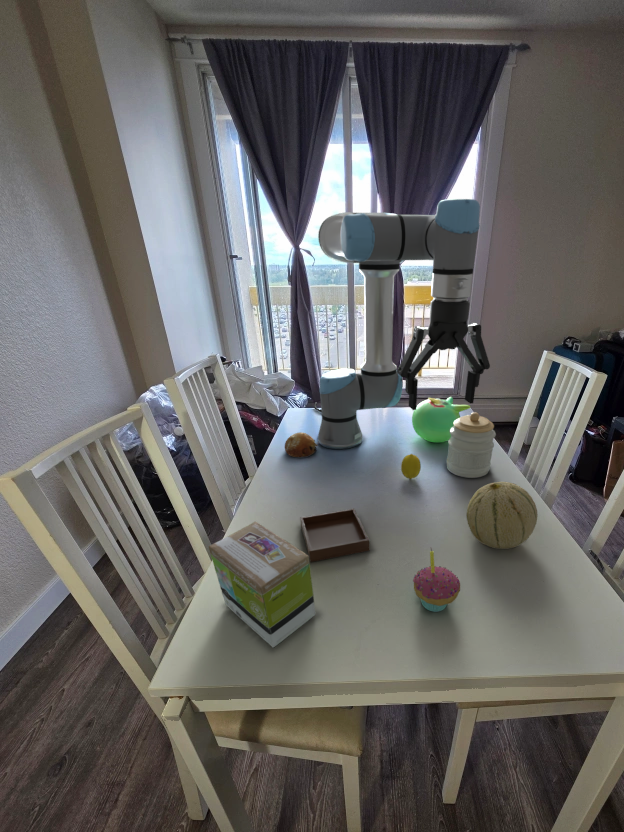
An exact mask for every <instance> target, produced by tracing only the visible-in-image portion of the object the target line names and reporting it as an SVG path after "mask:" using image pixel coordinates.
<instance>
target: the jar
mask: <svg viewBox="0 0 624 832" xmlns="http://www.w3.org/2000/svg"><path fill="white" fill-rule="evenodd" d="M453 424H454V426H453V427H452V428H451V429H450V434H451V438H450V439H449V440H448V451H447V458H446V469H447V470H448V471H449V472H450V473H451V474H453V475H454V476H458V477H462V478H469V479H476V478H482V477H484V476H486V475H487V474H488V473H489V471H490V469H491V466H492V455H493V449H494V447H495V444H494V443H495V442H494V439H495V438H496V436H497V433H496V430H494V428H495V424H494V423H493V422H492V421H490V420H489V419H488V418H487V417H485V416H482V415H480V414H479V413H478V412H476V411H473V412H471V413H470V414H467V415H462V416H460V418H459V419H457V420H455V421H454V423H453Z"/></svg>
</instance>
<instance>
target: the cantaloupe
mask: <svg viewBox="0 0 624 832" xmlns="http://www.w3.org/2000/svg"><path fill="white" fill-rule="evenodd" d="M466 521H467V525H468V528H469V531H470V532H471V534H472V536H473V537H474V538H475V539H476V540H477V541H479V543H481V544H483V545H485V546H487V547H489V548H491V549H492V548H493V549H497V550H499V549H501V550H502V549H503V550H504V549H505V550H507V549H513V548H516V547H519V546H520V545H522V544H524V543H525V542H526V541H527V540H528V539H529V538H530V536H531V535H533V533H534V531H535V529H536V526H537V522H538V508H537V504H536V502H535V501H534V498H533V497H532V496H531V494H530V493H529V492H528V491H527V490H526V489H525V488H523V487H521V486H520V485H518V484H515V483H513V482H508V481H497V482H490V483H488V484H485V485H483V486H481V487H480V488H478V489H476V491H475V492H474V493H473V495H472V496H471V498H470V500H469V502H468V504H467V508H466Z"/></svg>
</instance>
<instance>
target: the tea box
mask: <svg viewBox="0 0 624 832" xmlns="http://www.w3.org/2000/svg"><path fill="white" fill-rule="evenodd" d="M208 550H209V553H210V558H211V560H212V564H213V566H214V571H215V574H216V577H217V580H218V584H219V587H220V591H221V594H222V598H223V601H224V604H225V605H226V606H227V607H228V609H230V610H231V611H232V612H233V613H234V614H235V615H236V616H237V617H238V618H239V619H240V620H241V621H242V622H244V623H245V624H246V625H247V626H248V627H249V628H250V629H251V630H252V631H254V632H255V633H256V634H257V635H258V636H259V637H260V638H261V639H262V640H263V641H265V642H266V643H267V644H268V645H269V646H271V648H275V647H277V646H278V645H279V644H280V643H281V642H283V641H284V640H285V639H287V638H288V637H290V636H291V635H292V634H293V633H294V632H295V631H297V630H299V628H301V627H302V626H303V625H305V624H306V623H307V622H308V621H309V620H311V619H312V618H313V617H314V616H315V615H316V607H315V606H316V605H315V597H314V590H313V582H312V581H313V580H312V572H311V562H310V559H309V555H308V553H305V552H304V551H302V550H300V549H299V548H298V547H296V546H295V545H293V544H291V543H290V542H288V541H286V540H285V539H283V538H282V537H280V536H279V535H277V534H276V533H274V532H273V531H271V530H270V529H268V528H266V527H265V526H263V525H262V524H260V523H259V522H258V521H253V522H252V523H249V524H248V525H245V526H244V527H243V528H240V529H239V530H237V531H235V532H233V533H232V534H229V535H227V536H226V537H224V538H221V539H220V540H219V541H216V542H214V543H212V544H211V545H208Z"/></svg>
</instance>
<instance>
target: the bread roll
mask: <svg viewBox="0 0 624 832" xmlns="http://www.w3.org/2000/svg"><path fill="white" fill-rule="evenodd" d="M318 446H319V445H318V444H317V443H316V440H315V439H314V438H313V437H312V436H311V435H310V434H308V433H306V432H302V431H300V432H295V433H293V434H291V435H290V436H288V438H287V439H286V440H285V442H284V452H285V453H286V454H287V455H288V456H290V457H291V458H306V457H308V458H309V457H310V456H312V455H314V454H315V453H316V452H317V451H318V450H317V447H318Z"/></svg>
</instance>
